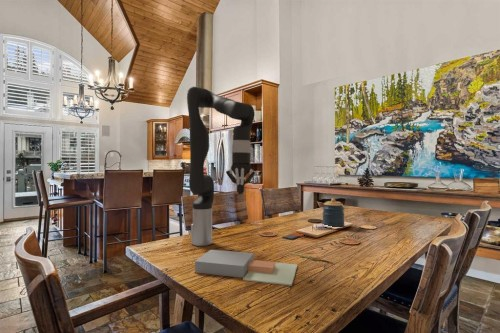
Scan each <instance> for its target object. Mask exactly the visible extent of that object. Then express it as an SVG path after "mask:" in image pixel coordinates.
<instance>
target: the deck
mask: <svg viewBox="0 0 500 333" xmlns="http://www.w3.org/2000/svg"><path fill="white" fill-rule="evenodd" d="M251 260H255V252H243V251H242V252H241V251H231V250H219V249H210V250H208V251H207V252H206V253H204V254H202V255H201V256H200V257H199V258H197V259H195V261H194V273H196V274H197V273H198V274H207V275H215V276H225V277H231V278H232V277H233V278H241V279H243V278H244V277H245V276H246V274H247V273H248V272H249V271H247V265H248V264H249V263H250V262H251Z"/></svg>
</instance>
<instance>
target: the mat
mask: <svg viewBox="0 0 500 333" xmlns="http://www.w3.org/2000/svg"><path fill="white" fill-rule="evenodd" d="M274 262H275V269H274V272H273V274H271V273H261V272H251V271H248V272H247V274H246V275H245V276H244V278H242V280H243V281H245V282H252V283H253V282H255V283H264V284H271V285H280V286H281V285H282V286H289V287H290V286H291V287H292V286H293V282H294V280H295V276H296V272H297V268H298V264H296V263H285V262H276V261H274Z"/></svg>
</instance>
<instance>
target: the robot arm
mask: <svg viewBox="0 0 500 333" xmlns="http://www.w3.org/2000/svg"><path fill="white" fill-rule="evenodd" d="M186 104H187V111H188V120H189V122H188V123H189V124H188V125H189V151H190V155H189V160H190V162H189V163H190V167H189V178H188V179H189V180H188V181H189V183H188V184H189V186H188V187H189V190H190V192H191V194H193V195H197V197H196V199H195V200H194V201H193V202H192V223H191V224H190V244H191V245H193V246H197V247H205V246H209V245H211V244H213V203H214V199H215V183H214V179H213V177H212V176H211V175H209V174H205V172H204V171H205V169H204V168H205V166H204V165H205V161H206V158H207V156H208V154H209V153H208V152H209V150H210V134H209V130H208V129H207V127H206V125H205V123H204V121H203V120H202V118H201V114H200V108H201V109H204V108H207V109H213V110H215V111H216V112H218V113H220V114H222V115H224V116H227V117H228V118H231V119H234V120H238V121H241V122H240V124H239V125H236V126H234V128H233V130H232V132H233V134H232V147H231V149H232V151H231V154H232V155H231V157H232V158H231V166H230V168H229V169H228V170H226V171H225V173H226V175H227V176H228V178H229V179H230V181H231V182H232V183H233V184H235V185H236V193H238V195H243V194H244V193H245V185H247V184H249V183H251V181H252V180H253V178H255V176H256V174H257V172H256V171H255V170H254V169H252V165H251V152H252V149H251V147H252V146H251V130H252V128H253V122H254V120H255V109H254V107H253V106H252V105H251V104H249V103H244V102H240V101H237V100H236V101H235V100H234V99H231V98H228V97H224V96H221V95H217V94H215V93H213V92H212V91H211V90H209V89H207V88H204V87H203V88H202V87H198V86H190V87H189V88H188V90H187V94H186ZM248 174H249V175H248ZM247 175H248V177H247Z"/></svg>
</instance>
